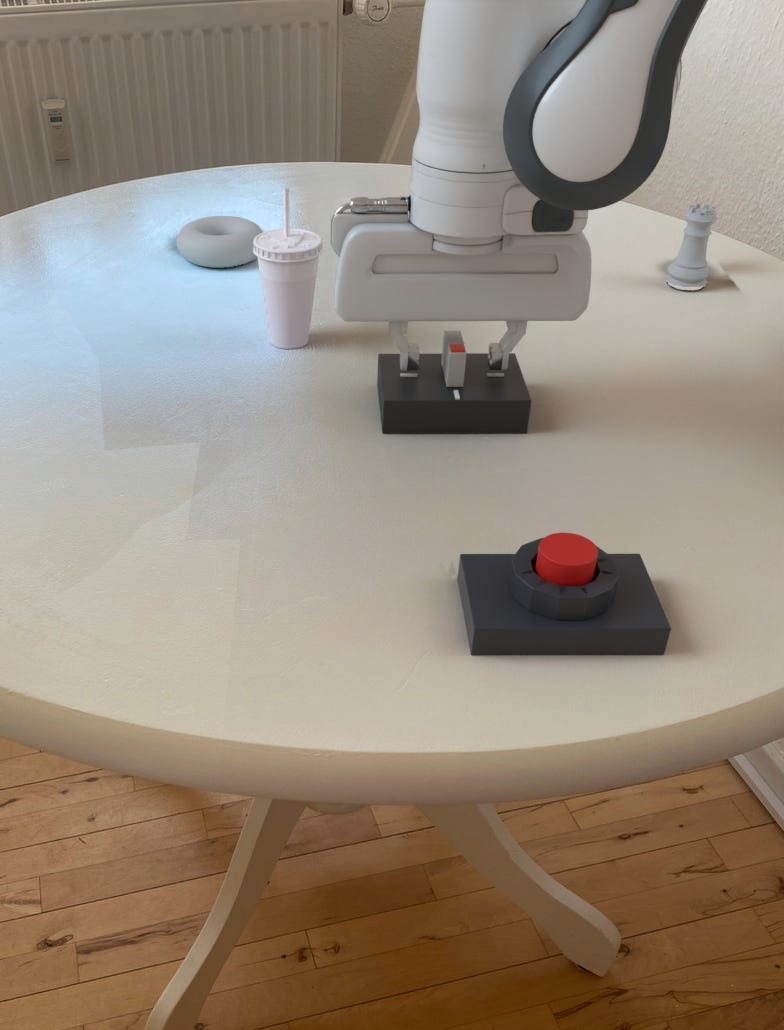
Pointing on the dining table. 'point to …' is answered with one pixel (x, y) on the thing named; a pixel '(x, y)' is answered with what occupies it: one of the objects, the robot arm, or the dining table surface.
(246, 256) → the donut
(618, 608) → the power switch
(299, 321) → the smoothie
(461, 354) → the grey block
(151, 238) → the dining table surface
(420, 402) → the panel
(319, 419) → the dining table surface
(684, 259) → the rook chess piece
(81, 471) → the dining table surface
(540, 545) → the power button
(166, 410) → the dining table surface
